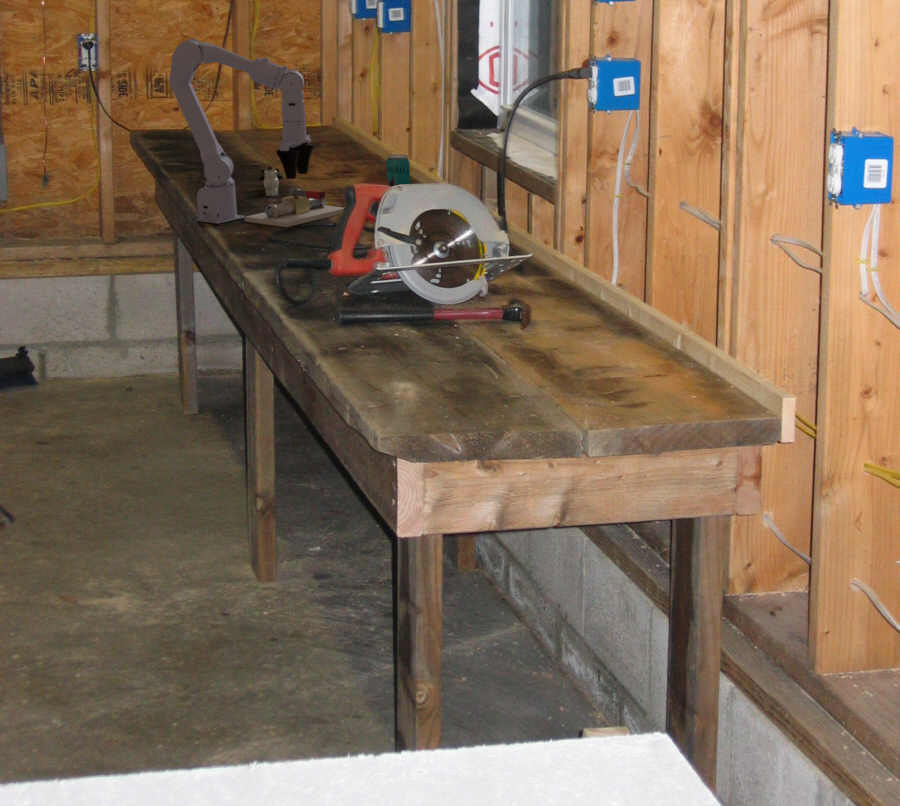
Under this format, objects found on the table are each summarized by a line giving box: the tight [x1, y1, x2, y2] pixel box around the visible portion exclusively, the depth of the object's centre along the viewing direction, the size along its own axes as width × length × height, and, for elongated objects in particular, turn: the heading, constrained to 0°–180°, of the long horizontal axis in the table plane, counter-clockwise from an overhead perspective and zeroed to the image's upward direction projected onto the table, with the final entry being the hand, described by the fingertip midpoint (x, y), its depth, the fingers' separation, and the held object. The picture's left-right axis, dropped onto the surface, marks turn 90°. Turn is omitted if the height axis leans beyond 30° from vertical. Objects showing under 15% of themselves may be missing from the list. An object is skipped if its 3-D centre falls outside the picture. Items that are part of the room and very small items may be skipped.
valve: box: [258, 165, 283, 197], centre depth 391 cm, size 7×7×12 cm
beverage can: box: [385, 154, 411, 186], centre depth 351 cm, size 6×6×15 cm
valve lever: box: [289, 187, 326, 199], centre depth 352 cm, size 10×3×2 cm, turn 53°
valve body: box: [264, 195, 327, 219], centre depth 355 cm, size 18×5×4 cm, turn 142°
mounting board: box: [244, 205, 345, 228], centre depth 356 cm, size 22×14×1 cm, turn 142°
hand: (297, 176), depth 352 cm, fingers open, 7 cm apart
